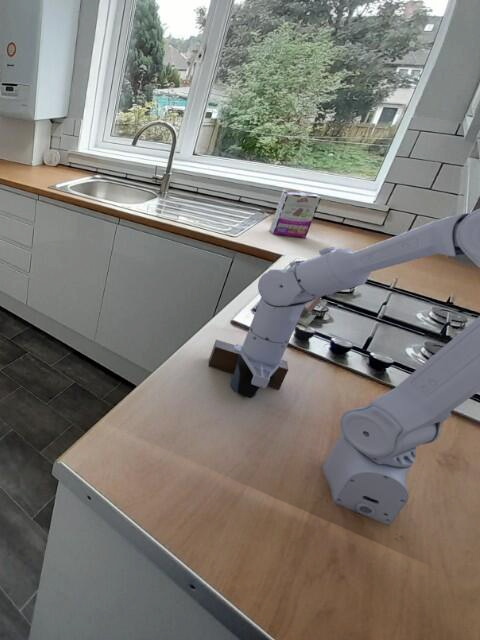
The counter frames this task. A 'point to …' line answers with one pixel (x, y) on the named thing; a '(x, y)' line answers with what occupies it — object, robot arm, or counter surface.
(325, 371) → the counter surface
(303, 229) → the candy bar box
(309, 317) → the packaged product
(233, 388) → the blue lidded container
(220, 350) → the pale-topped brown beam
